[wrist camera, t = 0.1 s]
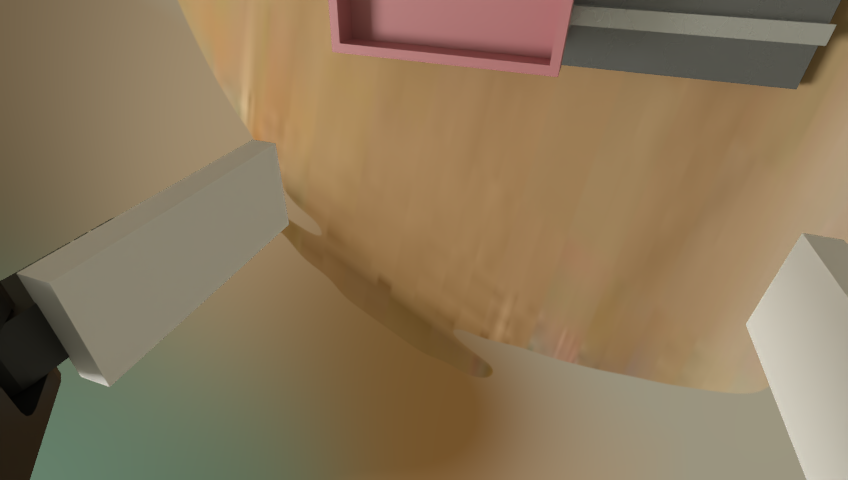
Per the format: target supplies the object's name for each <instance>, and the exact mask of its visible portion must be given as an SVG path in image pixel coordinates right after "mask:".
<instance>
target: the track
mask: <svg viewBox="0 0 848 480" xmlns="http://www.w3.org/2000/svg"><path fill="white" fill-rule="evenodd" d="M840 1H841V0H574V5H573V10H572V15H571V20H570V25H569V30H568V35H567V40H566V45H565V50H564V55H563V60H562V65H568V66H578V67H588V68H597V69H607V70H616V71H626V72H635V73H645V74H654V75H664V76H673V77H683V78H693V79H702V80H712V81H721V82H731V83H740V84H750V85H759V86H769V87H779V88H788V89H797V87H798V85H799V83H800V81H801V79H802V77H803V75H804V73H805V71H806V69H807V67H808V65H809V63H810V61H811V59H812V57H813V55H814V53H815V51H816V49H817V47H818V45H820V46H826V45H827V43H828V41H829V39H830V37H831V35H832V33H833V31H834V29H835V27H836V24H833V23H830V21H831V19H832V17H833V15H834V13H835V11H836V9H837V7H838V5H839V3H840Z"/></svg>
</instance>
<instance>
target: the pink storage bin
mask: <svg viewBox="0 0 848 480" xmlns="http://www.w3.org/2000/svg"><path fill="white" fill-rule="evenodd" d="M328 2H329V14H330V27H331V40H332V52H338V53H347V54H356V55H365V56H374V57H383V58H392V59H401V60H410V61H419V62H428V63H437V64H446V65H454V66H463V67H472V68H481V69H490V70H499V71H508V72H517V73H526V74H535V75H544V76H553V77H558V75H559V71H560V68H561V65H562V60H563V55H564V50H565V45H566V40H567V35H568V30H569V25H570V20H571V15H572V10H573V5H574V0H328Z"/></svg>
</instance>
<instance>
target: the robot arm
mask: <svg viewBox="0 0 848 480" xmlns="http://www.w3.org/2000/svg"><path fill="white" fill-rule="evenodd" d="M288 225H289V222H288V216H287V210H286V204H285V198H284V192H283V186H282V180H281V174H280V168H279V162H278V156H277V150H276V144H275V143H270V142H264V141H258V140H251V141H249V142H248V143H246V144H244V145H242V146H241V147H239V148H237V149H235V150H233V151H232V152H230V153H228V154H226V155H225V156H223V157H221V158H220V159H217V160H216V161H214V162H212V163H210V164H209V165H207V166H205V167H203V168H202V169H200V170H198V171H197V172H195V173H193V174H191V175H189V176H188V177H186V178H184V179H182V180H180V181H179V182H177V183H175V184H173V185H172V186H170V187H168V188H166V189H165V190H163V191H161V192H159V193H157V194H156V195H154V196H152V197H150V198H149V199H147V200H145V201H143V202H141V203H140V204H138V205H136V206H134V207H133V208H131V209H129V210H127V211H126V212H124V213H122V214H120V215H118V216H117V217H115V218H112V219H110V220H108V221H106V222H105V223H103V224H101V225H99V226H97V227H96V228H94V229H92V230H91V231H90V232H88V233H85V234H83V235H82V236H80V237H78V238H76V239H74V241H73V242H69V243H67V244H65V245H64V246H62V247H60V248H58V249H57V250H55V251H53V252H51V253H50V254H48V255H46V256H44V257H42V258H41V259H39V260H37V261H35V262H34V263H32V264H30V265H28V266H26V267H25V268H23V269H21V270H19V271H18V272H16V273H14V274H12V275H10V276H9V277H7V278H5V279H3V280H1V281H0V480H30V477H31V474H32V471H33V468H34V465H35V461H36V458H37V455H38V452H39V449H40V446H41V443H42V439H43V436H44V433H45V430H46V427H47V424H48V421H49V417H50V414H51V411H52V408H53V405H54V402H55V398H56V395H57V392H58V389H59V386H60V383H61V373H60V372H59V370H58V368H57V366H58V365H59V364H60V363H61V362H63V361H64V360H65V359H67V358H68V357H69V358H70V360H71V361H72V363H73V365H74V366H75V368H76V369H77V371H78V373H79V374H80V376H81V377H83V378H86V379H89V380H92V381H94V382H97V383H100V384H103V385H106V386H108V387H110V386H111V385H112V384H113V383H114V382H116V381H117V380H118V379H119V378H120V377H121V376H122V375H123V374H124V373H125V372H127V371H128V370H129V369H130V368H131V367H132V366H133V365H134V364H135V363H136V362H137V361H139V360H140V359H141V358H142V357H143V356H144V355H145V354H147V353H148V352H149V351H150V350H151V349H152V348H153V347H154V346H155V345H156V344H157V343H159V342H160V341H161V340H162V339H163V338H164V337H165V336H166V335H167V334H168V333H170V332H171V331H172V330H173V329H174V328H175V327H176V326H177V325H178V324H180V323H181V322H182V321H183V320H184V319H185V318H186V317H187V316H188V315H190V314H191V313H192V312H193V311H194V310H195V309H196V308H197V307H198V306H199V305H201V304H202V303H203V302H204V301H205V300H206V299H207V298H208V297H209V296H210V295H212V294H213V293H214V292H215V291H216V290H217V289H218V288H219V287H220V286H222V285H223V284H224V283H225V282H226V281H227V280H228V279H229V278H230V277H231V276H233V275H234V274H235V273H236V272H237V271H238V270H239V269H240V268H241V267H243V266H244V265H245V264H246V263H247V262H248V261H249V260H250V259H251V258H252V257H254V256H255V255H256V254H257V253H258V252H259V251H260V250H261V249H262V248H263V247H265V246H266V245H267V244H268V243H269V242H270V241H271V240H272V239H273V238H274V237H276V236H277V235H278V234H279V233H280V232H281V231H282V230H283V229H284V228H286V227H287V226H288ZM746 326H747V328H748V331H749V334H750V336H751V339H752V341H753V344H754V346H755V349H756V351H757V354H758V357H759V359H760V362H761V364H762V367H763V369H764V372H765V375H766V377H767V380H768V382H769V385H770V387H771V390H772V392H773V395H774V397H775V400H776V403H777V405H778V408H779V410H780V413H781V415H782V418H783V420H784V423H785V426H786V428H787V431H788V433H789V436H790V438H791V441H792V443H793V446H794V449H795V451H796V454H797V456H798V459H799V462H800V464H801V467H802V469H803V472H804V474H805V477H806V479H807V480H848V244H847V243H846V242H845V241H844V240H841V239H835V238H829V237H823V236H817V235H811V234H806V233H802V234H801V236H800V237H799V239H798V241H797V242H796V244H795V245H794V247H793V249H792V250H791V252H790V253H789V255H788V257H787V258H786V260H785V262H784V263H783V265H782V266H781V268H780V270H779V271H778V273H777V275H776V276H775V278H774V279H773V281H772V283H771V284H770V286H769V288H768V289H767V291H766V292H765V294H764V296H763V297H762V299H761V301H760V302H759V304H758V305H757V307H756V309H755V310H754V312H753V313H752V315H751V317H750V318H749V320H748V322H747V323H746Z"/></svg>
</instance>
